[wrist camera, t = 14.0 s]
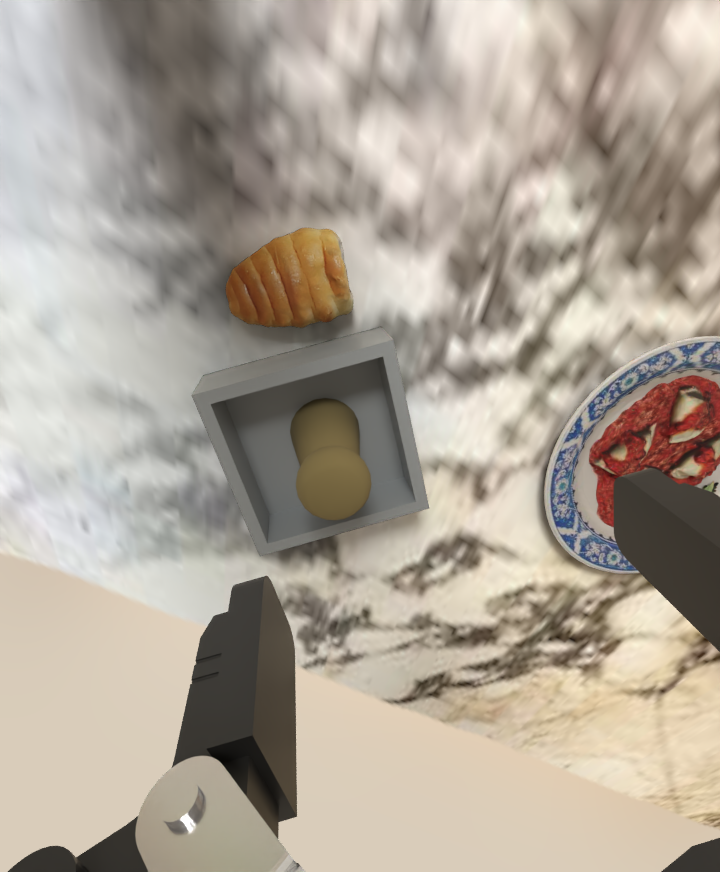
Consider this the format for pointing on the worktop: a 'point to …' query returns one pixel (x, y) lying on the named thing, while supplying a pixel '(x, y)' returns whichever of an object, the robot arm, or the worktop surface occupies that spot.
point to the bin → (272, 445)
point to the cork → (329, 459)
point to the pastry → (292, 281)
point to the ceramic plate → (635, 443)
